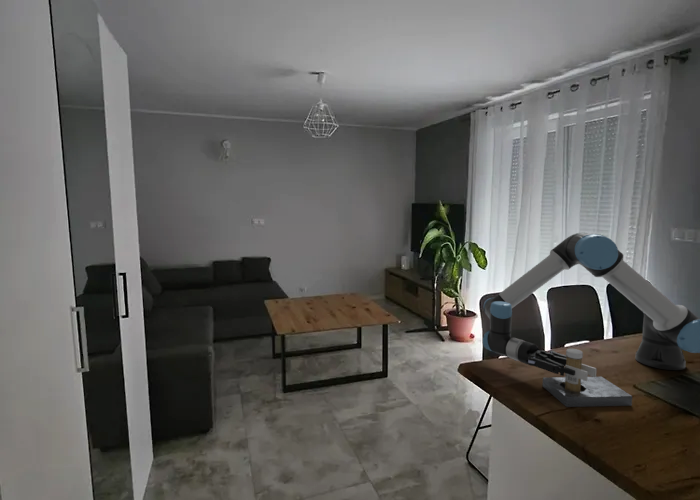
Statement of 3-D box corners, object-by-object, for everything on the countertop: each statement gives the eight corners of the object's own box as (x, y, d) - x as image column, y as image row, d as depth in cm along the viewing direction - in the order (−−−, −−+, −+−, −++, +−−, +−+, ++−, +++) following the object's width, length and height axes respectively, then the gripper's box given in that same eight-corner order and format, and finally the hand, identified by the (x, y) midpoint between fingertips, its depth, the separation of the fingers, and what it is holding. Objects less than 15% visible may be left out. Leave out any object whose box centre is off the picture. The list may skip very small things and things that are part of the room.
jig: (601, 385, 132) (601, 376, 132) (631, 405, 118) (632, 396, 118) (542, 386, 132) (542, 377, 131) (566, 406, 118) (566, 397, 118)
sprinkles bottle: (583, 392, 124) (585, 351, 123) (576, 395, 122) (578, 354, 120) (568, 386, 128) (570, 346, 127) (561, 390, 125) (563, 349, 124)
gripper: (537, 356, 144) (605, 379, 124) (506, 366, 135) (575, 393, 115) (538, 337, 143) (606, 357, 124) (507, 345, 134) (576, 368, 115)
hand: (591, 374), depth 119 cm, fingers closed on sprinkles bottle, 4 cm apart
